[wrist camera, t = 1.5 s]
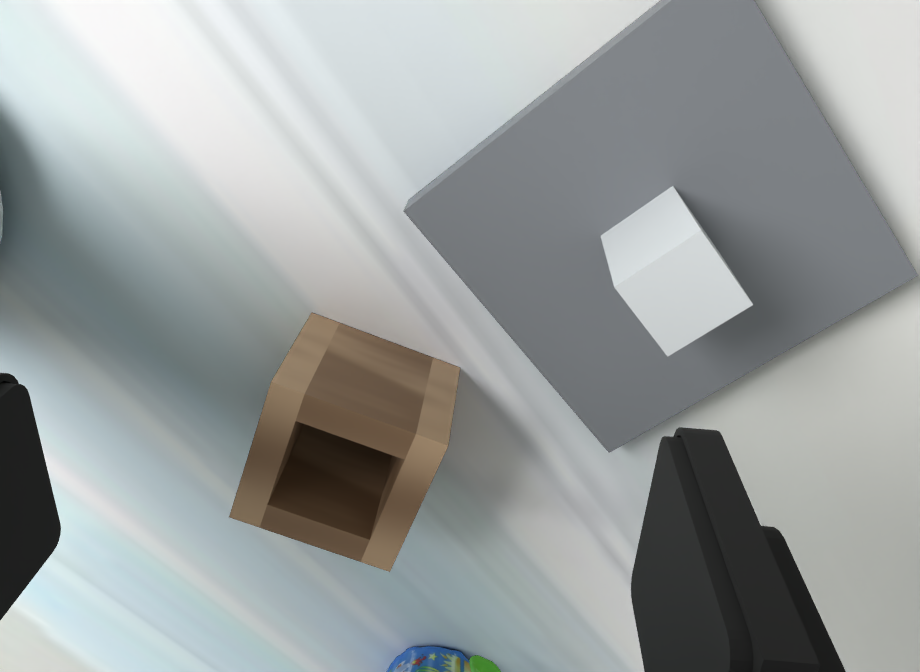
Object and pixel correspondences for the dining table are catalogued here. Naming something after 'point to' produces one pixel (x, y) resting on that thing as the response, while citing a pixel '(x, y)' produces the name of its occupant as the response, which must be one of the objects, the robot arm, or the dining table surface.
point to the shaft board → (622, 158)
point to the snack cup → (439, 661)
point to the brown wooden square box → (347, 442)
